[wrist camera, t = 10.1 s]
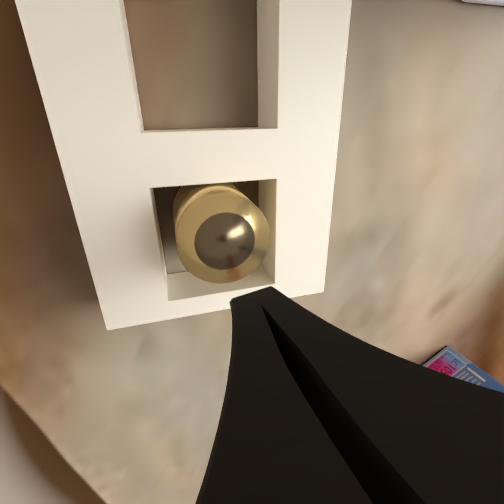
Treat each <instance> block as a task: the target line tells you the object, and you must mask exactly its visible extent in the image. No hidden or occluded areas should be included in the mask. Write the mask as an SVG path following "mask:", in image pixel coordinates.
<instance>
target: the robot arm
mask: <svg viewBox="0 0 504 504" xmlns="http://www.w3.org/2000/svg"><path fill="white" fill-rule="evenodd" d="M462 1H464V2H470V3H481V4H491V5H502V6H504V0H462ZM229 304H230V307H231V312H232V348H231V358H230V366H229V373H228V381H227V386H226V392H225V397H224V402H223V407H222V412H221V416H220V421H219V425H218V429H217V432H216V436H215V440H214V444H213V448H212V452H211V455H210V459H209V462H208V466H207V469H206V473H205V476H204V479H203V483H202V486H201V489H200V492H199V495H198V498H197V501H196V504H504V393H503V392H500V391H496V390H493V389H489V388H486V387H483V386H480V385H476V384H473V383H470V382H467V381H464V380H461V379H458V378H455V377H452V376H449V375H446V374H443V373H441V372H438V371H435V370H432V369H430V368H427V367H424V366H421V365H418V364H416V363H413V362H411V361H408V360H405V359H403V358H400V357H398V356H396V355H393V354H391V353H389V352H386V351H384V350H382V349H380V348H377V347H375V346H373V345H370V344H368V343H366V342H364V341H362V340H360V339H358V338H356V337H354V336H352V335H350V334H348V333H346V332H345V331H343V330H341V329H339V328H337V327H335V326H333V325H332V324H330V323H328V322H326V321H325V320H323V319H321V318H320V317H318V316H316V315H315V314H313V313H311V312H310V311H308V310H307V309H305V308H303V307H302V306H300V305H299V304H297V303H296V302H294V301H293V300H291V299H290V298H288V297H287V296H286V295H284V294H283V293H281V292H280V291H278V290H277V289H275V288H274V287H272V286H269V287H266V288H263V289H260V290H257V291H253V292H250V293H247V294H244V295H241V296H238V297H235V298H232V299H231V301H230V302H229Z"/></svg>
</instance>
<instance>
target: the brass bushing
mask: <svg viewBox="0 0 504 504" xmlns="http://www.w3.org/2000/svg"><path fill="white" fill-rule="evenodd" d="M173 218H174V227H175V235H176V243H177V250H178V254H179V257H180V259H181V262H182V263H183V265H184V266H185V268H186V269H187V270H188V271H189V272H190V273H191V274H193V275H194V276H196V277H197V278H199V279H201V280H203V281H206V282H210V283H219V284H222V283H230V282H234V281H237V280H240V279H242V278H244V277H246V276H248V275H249V274H250V273H252V272H253V271H254V270H255V269H256V268H257V267H258V266H259V265H260V264H261V262H262V261H263V259H264V258H265V256H266V254H267V251H268V248H269V244H270V230H269V225H268V222H267V220H266V218H265V216H264V214H263V213H262V211H261V210H260V209H259V208H258V207H257V206H256V205H255V204H254V203H253V202H251V201H250V200H249V199H248V198H247V197H246V196H245V195H244V194H243V193H242V192H241V191H239V190H238V189H237V188H236V187H235V186H234V185H233V184H232V183H231V182H225V183H211V184H197V185H184V186H181V188H180V189H179V190H178V192H177V193H176V196H175V198H174V202H173Z"/></svg>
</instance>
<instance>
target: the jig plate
mask: <svg viewBox="0 0 504 504" xmlns="http://www.w3.org/2000/svg"><path fill="white" fill-rule="evenodd" d="M15 3H16V6H17V10H18V13H19V17H20V21H21V24H22V28H23V31H24V35H25V39H26V42H27V46H28V49H29V53H30V56H31V60H32V64H33V67H34V71H35V74H36V78H37V81H38V85H39V89H40V92H41V96H42V99H43V103H44V106H45V110H46V114H47V117H48V121H49V124H50V128H51V131H52V135H53V139H54V142H55V146H56V149H57V153H58V156H59V160H60V164H61V167H62V171H63V174H64V178H65V181H66V185H67V189H68V192H69V196H70V199H71V203H72V206H73V210H74V214H75V217H76V221H77V224H78V228H79V231H80V235H81V239H82V242H83V246H84V249H85V253H86V256H87V260H88V264H89V267H90V271H91V274H92V278H93V281H94V285H95V289H96V292H97V296H98V299H99V303H100V307H101V310H102V314H103V317H104V321H105V324H106V328H107V330H112V329H118V328H123V327H129V326H134V325H140V324H146V323H151V322H157V321H163V320H168V319H174V318H179V317H185V316H191V315H196V314H202V313H207V312H213V311H219V310H224V309H230V308H231V307H230V304H229V302H230V301H231V299H232V298H235V297H238V296H241V295H244V294H247V293H250V292H253V291H257V290H260V289H263V288H266V287H269V286H272V287H274V288H275V289H277V290H278V291H280V292H281V293H283V294H284V295H286V296H287V297H288V298H292V297H297V296H303V295H308V294H314V293H320V292H324V283H325V272H326V262H327V252H328V242H329V231H330V221H331V211H332V200H333V190H334V180H335V169H336V159H337V149H338V138H339V128H340V118H341V108H342V97H343V87H344V77H345V66H346V56H347V46H348V35H349V25H350V15H351V4H352V0H257V65H258V127H242V128H207V129H172V130H144V126H143V120H142V114H141V107H140V101H139V95H138V89H137V82H136V76H135V70H134V63H133V57H132V51H131V44H130V38H129V32H128V25H127V19H126V13H125V6H124V0H15ZM252 180H259V209H260V210H261V211H262V213H263V214H264V216H265V218H266V220H267V222H268V225H269V230H270V244H269V248H268V251H267V254H266V256H265V258H264V259H263V261H262V262H261V264H260V265H259V266H258V267H257V268H256V269H255V270H254V271H253V272H252V273H250V274H249V275H248V276H246V277H244V278H242V279H240V280H237V281H234V282H230V283H222V284H219V283H210V282H206V281H203V280H201V279H199V278H197V277H196V276H194V275H193V274H191V273H190V272H189V271H187V272H180V273H173V274H167V272H166V265H165V259H164V253H163V246H162V240H161V234H160V228H159V221H158V215H157V209H156V202H155V196H154V190H153V188H157V187H170V186H184V185H197V184H211V183H225V182H238V181H252Z"/></svg>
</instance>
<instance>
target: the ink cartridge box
mask: <svg viewBox="0 0 504 504" xmlns="http://www.w3.org/2000/svg"><path fill="white" fill-rule="evenodd" d="M422 366H424V367H427V368H430V369H432V370H435V371H438V372H441V373H443V374H446V375H449V376H452V377H455V378H458V379H461V380H464V381H467V382H470V383H473V384H476V385H480V386H483V387H486V388H489V389H493V390H496V391H500V392H503V393H504V386H503V385H502V384H500V383H499V382H498V381H496V380H495V379H494V378H492V377H491V376H490V375H488V374H487V373H486V372H484V371H483V370H481V369H480V368H479V367H477V366H476V365H475V364H473V363H472V362H471V361H469V360H468V359H466V358H465V357H464V356H462V355H461V354H460V353H458V352H457V351H455V350H454V349H453V348H452V347H450V346H447V347H445V348H444V349H443V350H442V351H440V352H439V353H438V354H436V355H435V356H434V357H433V358H431V359H430V360H429V361H427V362H426V363H425V364H424V365H422Z"/></svg>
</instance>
